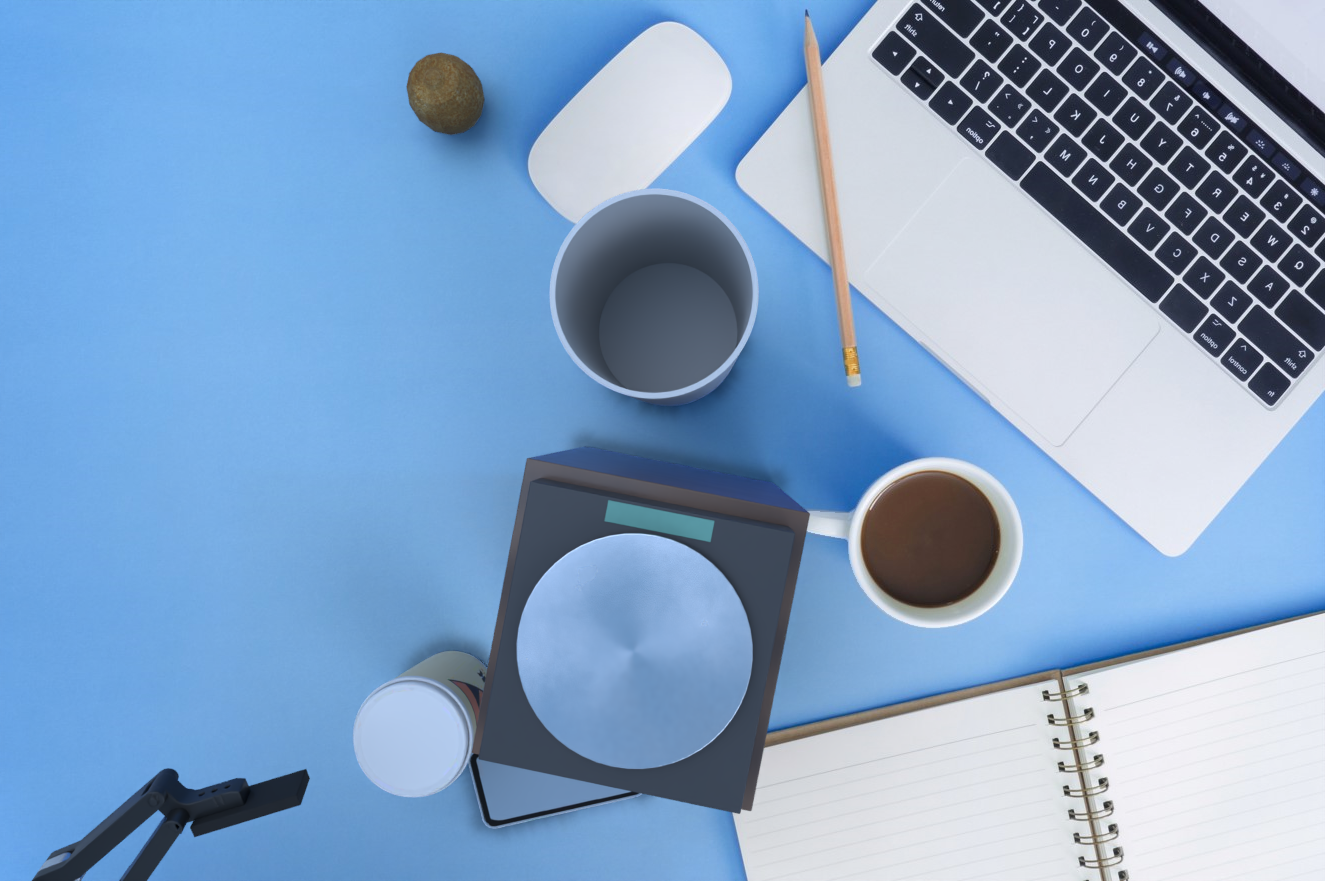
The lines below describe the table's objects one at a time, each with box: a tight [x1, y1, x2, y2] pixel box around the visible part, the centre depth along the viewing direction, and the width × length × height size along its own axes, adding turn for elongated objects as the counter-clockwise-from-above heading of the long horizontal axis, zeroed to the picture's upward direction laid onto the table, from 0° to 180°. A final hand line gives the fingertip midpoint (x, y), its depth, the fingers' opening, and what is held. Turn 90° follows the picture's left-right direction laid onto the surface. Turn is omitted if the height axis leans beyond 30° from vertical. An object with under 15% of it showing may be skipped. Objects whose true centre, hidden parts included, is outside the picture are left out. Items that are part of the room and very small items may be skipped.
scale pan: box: [516, 532, 753, 769], centre depth 48 cm, size 13×13×1 cm
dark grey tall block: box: [472, 445, 811, 812], centre depth 65 cm, size 18×17×26 cm
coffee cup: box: [352, 650, 488, 798], centre depth 73 cm, size 9×9×12 cm
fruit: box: [405, 52, 486, 136], centre depth 74 cm, size 6×6×8 cm
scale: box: [479, 478, 795, 815], centre depth 50 cm, size 16×15×3 cm
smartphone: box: [467, 752, 643, 830], centre depth 78 cm, size 7×1×15 cm
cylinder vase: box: [549, 187, 760, 407], centre depth 65 cm, size 12×12×25 cm
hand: (339, 871), depth 58 cm, fingers open, 13 cm apart
